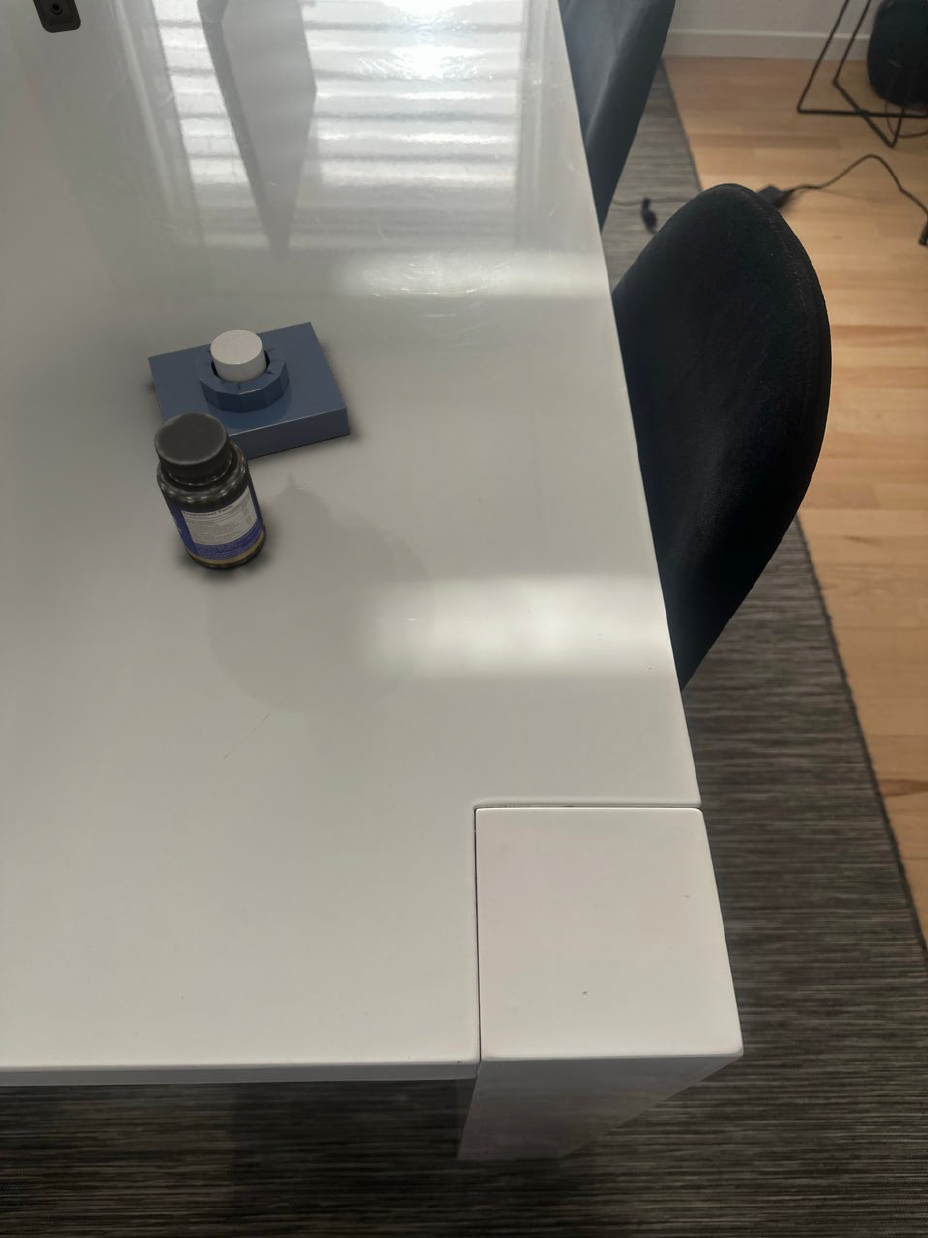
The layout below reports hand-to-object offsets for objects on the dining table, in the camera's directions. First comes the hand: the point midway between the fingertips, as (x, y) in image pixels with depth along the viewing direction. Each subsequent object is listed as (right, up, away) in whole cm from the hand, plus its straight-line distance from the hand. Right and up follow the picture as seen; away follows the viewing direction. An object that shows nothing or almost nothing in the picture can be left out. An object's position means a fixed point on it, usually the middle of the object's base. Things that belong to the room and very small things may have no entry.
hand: (62, 25), depth 49 cm
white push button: (+6, -15, +17) cm, 24 cm away
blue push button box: (+6, -17, +21) cm, 28 cm away
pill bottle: (+6, -29, +14) cm, 33 cm away
